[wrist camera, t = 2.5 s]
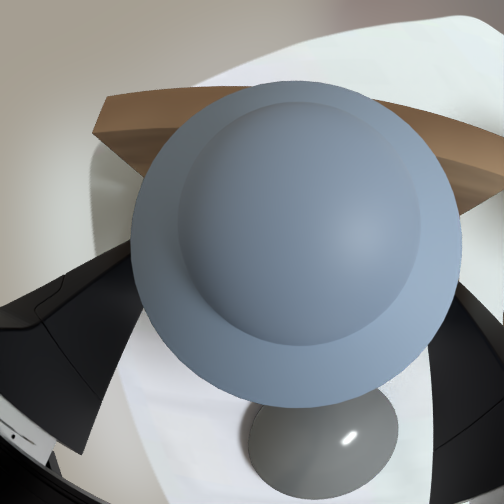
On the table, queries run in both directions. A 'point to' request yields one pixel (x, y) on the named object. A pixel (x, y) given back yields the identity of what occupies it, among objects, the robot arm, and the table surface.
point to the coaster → (324, 445)
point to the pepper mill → (296, 244)
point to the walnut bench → (196, 98)
